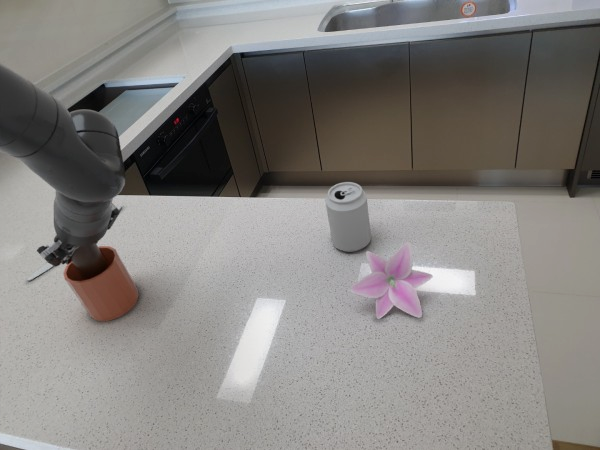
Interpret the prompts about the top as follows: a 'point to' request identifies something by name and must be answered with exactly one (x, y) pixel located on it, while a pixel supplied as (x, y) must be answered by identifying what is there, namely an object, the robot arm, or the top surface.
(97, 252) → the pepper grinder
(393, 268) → the lily
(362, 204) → the can
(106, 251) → the terracotta plant pot
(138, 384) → the top surface
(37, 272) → the butter knife
